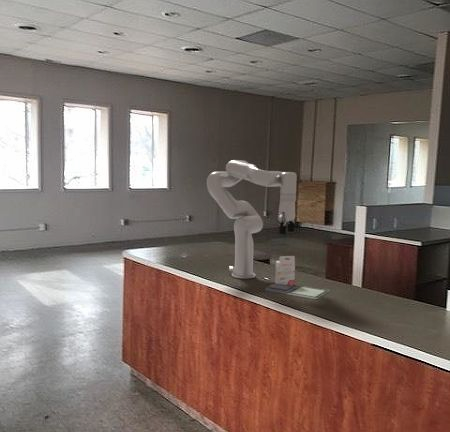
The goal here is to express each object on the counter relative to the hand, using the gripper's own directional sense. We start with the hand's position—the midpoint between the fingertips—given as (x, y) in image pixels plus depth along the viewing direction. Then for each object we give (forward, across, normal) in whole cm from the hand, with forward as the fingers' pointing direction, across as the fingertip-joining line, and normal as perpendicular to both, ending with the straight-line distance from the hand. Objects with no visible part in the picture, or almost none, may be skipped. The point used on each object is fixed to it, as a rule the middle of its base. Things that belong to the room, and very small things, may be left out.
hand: (286, 232), depth 238 cm
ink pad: (+26, +11, +3) cm, 28 cm away
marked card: (+26, +8, +15) cm, 31 cm away
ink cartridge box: (+26, 0, 0) cm, 26 cm away
